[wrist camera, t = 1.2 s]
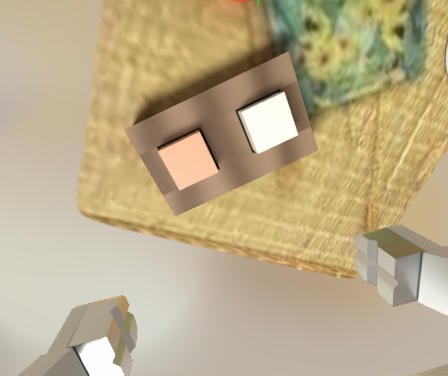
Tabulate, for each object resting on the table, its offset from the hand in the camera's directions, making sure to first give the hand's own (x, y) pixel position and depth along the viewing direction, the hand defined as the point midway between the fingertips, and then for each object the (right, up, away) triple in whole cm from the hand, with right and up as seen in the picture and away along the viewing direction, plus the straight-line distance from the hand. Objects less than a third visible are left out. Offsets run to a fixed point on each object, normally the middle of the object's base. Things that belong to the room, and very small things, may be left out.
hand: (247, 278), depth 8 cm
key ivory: (+4, +11, +21) cm, 24 cm away
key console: (-1, +10, +24) cm, 26 cm away
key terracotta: (-5, +7, +21) cm, 23 cm away
